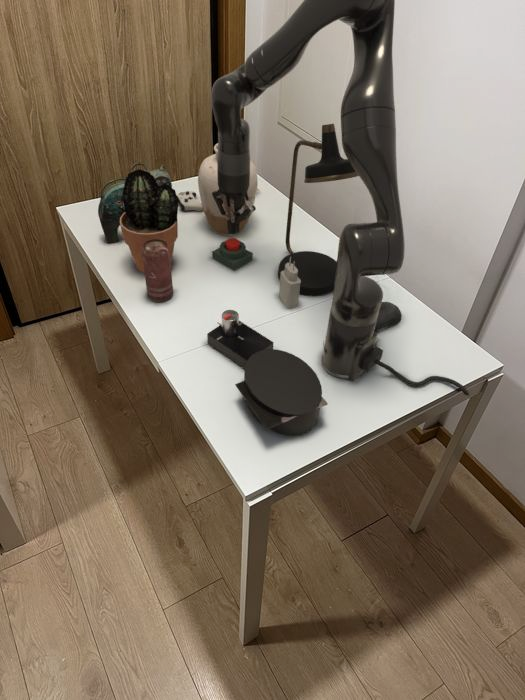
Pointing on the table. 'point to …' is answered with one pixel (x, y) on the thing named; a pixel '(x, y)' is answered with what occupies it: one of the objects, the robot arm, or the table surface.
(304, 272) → the lamp
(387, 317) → the computer mouse
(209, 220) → the vase
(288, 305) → the power adapter
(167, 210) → the potted plant
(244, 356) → the panel
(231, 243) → the button
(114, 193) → the ceramic cat
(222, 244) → the box
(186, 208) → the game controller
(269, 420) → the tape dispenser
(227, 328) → the knob
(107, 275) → the table surface
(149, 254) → the can
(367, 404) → the table surface
